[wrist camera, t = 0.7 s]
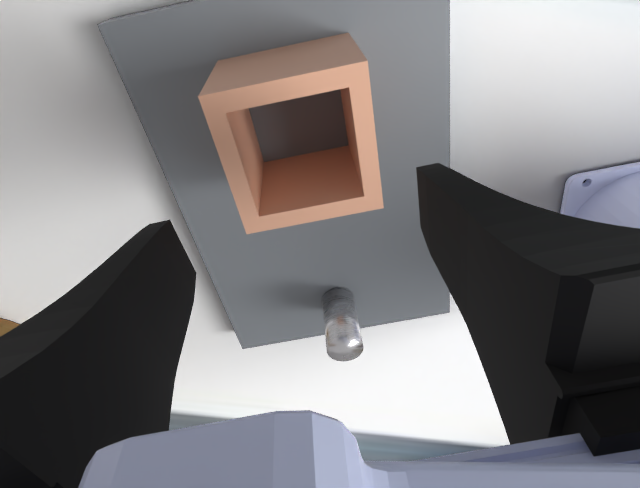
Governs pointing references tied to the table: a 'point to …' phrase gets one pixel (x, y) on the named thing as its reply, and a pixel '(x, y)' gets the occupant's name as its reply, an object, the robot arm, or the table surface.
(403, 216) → the pin plate
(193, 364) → the table surface
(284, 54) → the sleeve
